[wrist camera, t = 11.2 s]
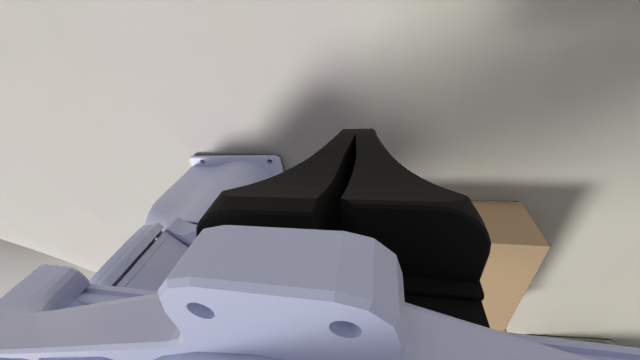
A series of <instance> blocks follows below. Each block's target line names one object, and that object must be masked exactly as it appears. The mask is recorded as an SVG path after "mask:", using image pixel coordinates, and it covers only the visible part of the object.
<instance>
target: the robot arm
mask: <svg viewBox="0 0 640 360" xmlns="http://www.w3.org/2000/svg"><path fill="white" fill-rule="evenodd" d="M268 159H270V160H272V162H270V161H269V160H268ZM203 160H204V161H205V162H204V161H203ZM189 161H190V164H191V166H192V167H191V168H190V169H189V170H188V171H187V172H186V173H185V174H184V175H183V176H182V177H181V178H180V179H179V180H178V181H177V182H176V183H175V184H174V185H173V186H171V187H170V188H169V189H168V190H167V191H166V192H165V193H164V194H163V195H162V196H161V197H160V198H159V199H158V200H157V201H156V202H155V203H154V205H153V206H152V208H151V209H150V211H149V213H148V216H147V219H146V223H145V225H144V226H143V227H141V228H140V229H139V230H138V231H137V232H136V233H135V234H134V235H133V236H132V237H131V238H130V239H129V240H128V241H127V242H125V244H124V245H123V246H122V247H121V248H120V249H119V250H118V251H117V252H116V253H115V254H114V255H113V256H112V257H111V258H110V259H109V260H108V261H107V262H106V263H105V264H104V265H103V266H102V267H101V268H100V270H99V271H98V272H97V273H96V274H95V275H94V276H93V277H92V278H91V279H90V280H88V279H87V278H86V277H85V276H84V275H83V274H82V273H81V272H80V271H78V270H76V269H74V268H72V267H67V266H57V265H48V264H45V265H41V266H39V267H38V268H37V269H36V270H35V271H33V272H32V273H31V274H30V275H29V276H27V277H26V278H25V279H24V280H22V281H21V282H20V283H19V284H18V285H17V286H15V287H14V288H13V289H11V290H10V291H9V292H8V293H7V294H5V295H4V296H3V297H2V298H1V299H0V360H640V348H636V347H627V346H619V345H610V344H602V343H593V342H585V341H576V340H568V339H559V338H551V337H542V336H534V335H525V334H516V333H508V332H500V331H497V330H494V329H491V328H490V326H489V323H488V319H487V316H486V313H485V310H484V307H483V304H482V301H483V299H484V291H483V288H482V286H481V283H480V279H481V276H482V273H483V271H484V268H485V265H486V263H487V260H488V257H489V255H490V249H491V240H490V237H489V233H488V231H487V228H486V226H485V224H484V222H483V220H482V218H481V216H480V214H479V213H478V211H477V209H476V208H475V206H474V205H473V203H472V202H471V200H470V199H469V197H468V196H466V195H463V194H460V193H457V192H454V191H451V190H448V189H445V188H442V187H439V186H437V185H435V184H433V183H430V182H428V181H426V180H424V179H422V178H420V177H419V176H417V175H415V174H414V173H412V172H410V171H409V170H407V169H406V168H405V167H403V166H402V165H401V164H400V163H398V162H397V161H396V160H395V159H394V158H393V157H392V156H391V155H390V154H389V152H388V151H387V150H386V149H385V147H384V146H383V145H382V143H381V142H380V140H379V138H378V137H377V135H376V132H375V130H374V129H343V130H342V131H341V132H340V133H339V134H338V135H337V136H335V137H334V138H333V139H332V140H331V141H330V142H329V143H328V144H327V145H325V146H324V147H323V148H322V149H320V150H319V151H318V152H316V153H315V154H314V155H313V156H311V157H310V158H308V159H307V160H305V161H304V162H302V163H300V164H298V165H297V166H295V167H293V168H291V169H289V170H287V171H283V167H282V162H281V159H280V157H279V156H277V155H219V156H192V157H191V158H190V159H189Z"/></svg>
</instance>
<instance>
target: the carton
mask: <svg viewBox="0 0 640 360" xmlns="http://www.w3.org/2000/svg"><path fill="white" fill-rule="evenodd" d="M471 202H472V203H473V205H474V206H475V208H476V209H477V211H478V213H479V214H480V216H481V218H482V220H483V222H484V224H485V226H486V228H487V231H488V233H489V237H490V240H491V249H490V255H489V257H488V260H487V263H486V265H485V268H484V271H483V273H482V276H481V279H480V283H481V286H482V288H483V291H484V299H483V301H482V304H483V307H484V310H485V313H486V316H487V319H488V323H489V326H490V328H491V329H497V330H505V328H506V327H507V325H508V323H509V321H510V319H511V317H512V316H513V314H514V312H515V310H516V308H517V307H518V305H519V303H520V301H521V299H522V298H523V296H524V294H525V292H526V290H527V289H528V287H529V285H530V283H531V281H532V279H533V278H534V276H535V274H536V272H537V270H538V269H539V267H540V265H541V263H542V261H543V260H544V258H545V256H546V254H547V252H548V250H549V249H550V247H551V246H550V245H549V243H548V242H547V240H546V239H545V237H544V236H543V234H542V233H541V231H540V230H539V228H538V226H537V225H536V223H535V222H534V220H533V219H532V217H531V216H530V214H529V213H528V211H527V210H526V208H525V207H524V205H523V204H522V202H506V201H471Z"/></svg>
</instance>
